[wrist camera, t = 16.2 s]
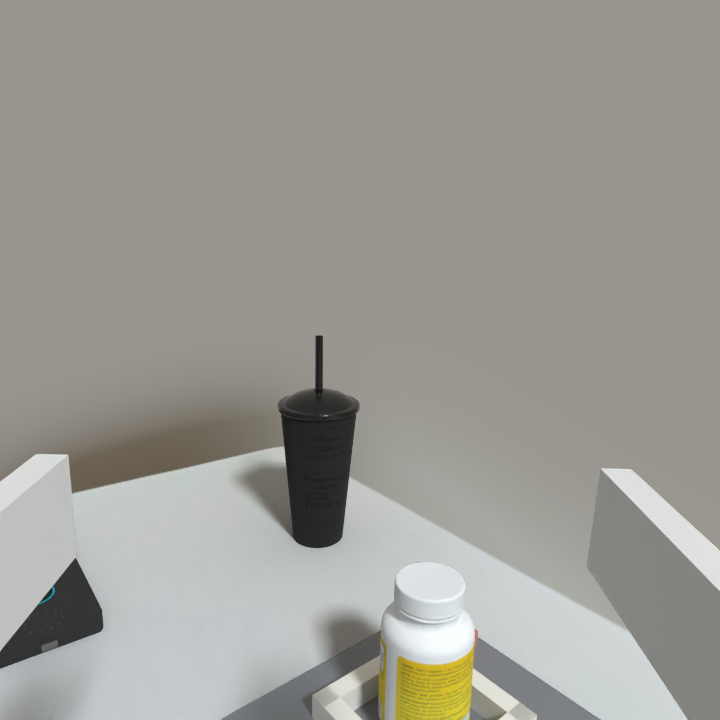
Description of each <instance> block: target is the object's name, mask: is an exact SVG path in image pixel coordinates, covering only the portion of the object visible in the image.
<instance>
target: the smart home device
mask: <svg viewBox="0 0 720 720" xmlns="http://www.w3.org/2000/svg"><path fill="white" fill-rule="evenodd" d="M102 629H103V617H102V609H101V607H100V605H99V603H98V601H97V599H96V597H95V595H94V593H93V591H92V589H91V587H90V585H89V583H88V581H87V579H86V577H85V575H84V573H83V571H82V569H81V567H80V566H79V564H78V562H77V560H76V558H75V559H74V560H73V561H72V563H71V564H70V565H69V566H68V568H67V569H66V570H65V571H64V573H63V574H62V575H61V576H60V578H59V579H58V580H57V581H56V583H55V584H54V585H53V586H52V587H51V589H50V590H49V591H48V592H47V594H46V595H45V596H44V597H43V599H42V600H41V601H40V602H39V604H38V605H37V606H36V607H35V609H34V610H33V611H32V612H31V614H30V615H29V616H28V617H27V619H26V620H25V621H24V622H23V624H22V625H21V626H20V627H19V628H18V630H17V631H16V632H15V633H14V635H13V636H12V637H11V638H10V640H9V641H8V642H7V643H6V645H5V646H4V647H3V648H2V650H1V651H0V668H3V667H6V666H8V665H11V664H14V663H17V662H19V661H22V660H25V659H27V658H30V657H33V656H36V655H38V654H41V653H44V652H47V651H49V650H52V649H55V648H57V647H60V646H63V645H66V644H68V643H71V642H74V641H76V640H79V639H82V638H85V637H87V636H90V635H93V634H96V633H98V632H100V631H102Z"/></svg>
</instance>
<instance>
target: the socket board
mask: <svg viewBox="0 0 720 720" xmlns="http://www.w3.org/2000/svg"><path fill="white" fill-rule="evenodd" d="M380 639H381V631H380V632H378V633H376V634H374V635H372V636H371V637H369V638H367V639H365V640H363V641H362V642H360V643H358V644H356V645H354V646H353V647H351V648H349V649H347V650H345V651H344V652H342V653H340V654H338V655H336V656H335V657H333V658H331V659H329V660H327V661H326V662H324V663H322V664H320V665H318V666H317V667H315V668H313V669H311V670H309V671H308V672H306V673H304V674H302V675H300V676H299V677H297V678H295V679H293V680H291V681H290V682H288V683H286V684H284V685H282V686H281V687H279V688H277V689H275V690H273V691H272V692H270V693H268V694H266V695H264V696H263V697H261V698H259V699H257V700H255V701H254V702H252V703H250V704H248V705H246V706H245V707H243V708H241V709H239V710H237V711H236V712H234V713H232V714H230V715H228V716H227V717H225V718H223V719H222V720H378V697H379V669H380ZM470 720H600V719H599V718H597V717H596V716H594V715H593V714H591V713H590V712H588V711H587V710H585V709H584V708H582V707H581V706H579V705H578V704H576V703H575V702H573V701H572V700H570V699H569V698H568V697H566V696H565V695H563V694H562V693H560V692H559V691H557V690H556V689H554V688H553V687H551V686H550V685H548V684H547V683H545V682H544V681H542V680H541V679H539V678H538V677H536V676H535V675H533V674H532V673H530V672H529V671H527V670H526V669H524V668H523V667H522V666H520V665H519V664H517V663H516V662H514V661H513V660H511V659H510V658H508V657H507V656H505V655H504V654H502V653H501V652H499V651H498V650H496V649H495V648H493V647H492V646H490V645H489V644H487V643H486V642H484V641H483V640H481V639H480V638H478V631H477V630H475V647H474V660H473V676H472V691H471V706H470Z"/></svg>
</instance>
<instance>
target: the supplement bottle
mask: <svg viewBox="0 0 720 720" xmlns="http://www.w3.org/2000/svg"><path fill="white" fill-rule="evenodd" d="M465 590H466V585H465V581H464V579H463V577H462V576H461V575H460V574H459V573H458V572H457V571H455V570H454V569H452V568H450V567H448V566H445V565H442V564H438V563H432V562H419V563H413V564H410V565H407V566H405V567H403V568H402V569H401V570H400V571H399V572H398V573H397V575H396V577H395V589H394V602H392V603H391V604H390V605H389V606H388V607H387V609H386V610H385V612H384V614H383V617H382V622H381V639H380V669H379V697H378V720H470V706H471V691H472V676H473V660H474V647H475V629H474V625H473V622H472V619H471V617H470V616H469V614H468V613H467V611H466V610H465V609H464V605H465Z"/></svg>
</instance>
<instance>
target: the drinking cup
mask: <svg viewBox="0 0 720 720" xmlns="http://www.w3.org/2000/svg"><path fill="white" fill-rule="evenodd" d="M315 349H316V351H315V352H316V353H315V356H316V357H315V360H316V361H315V362H316V363H315V380H316V381H315V382H316V383H315V388H313V389H306V390H303V391H299V392H297V393H294V394H292V395H290V396H287V397H285V398H283V399H281V400H280V401H279V403H278V410H279V412H280V413H281V417H282V427H283V436H284V447H285V457H286V466H287V476H288V486H289V496H290V506H291V516H292V526H293V535H294V539H295V540H296V541H297V542H298V543H299V544H301V545H304V546H307V547H314V548H321V547H327V546H331V545H333V544H335V543H337V542H338V541H339V540H340V539H341V538H342V534H343V525H344V516H345V507H346V498H347V490H348V481H349V472H350V463H351V455H352V446H353V437H354V428H355V420H356V413H357V412H358V411H359V408H360V406H359V405H360V404H359V402H358V400H356V399H355V398H353V397H351V396H348V395H345V394H343V393H341V392H339V391H335V390H332V389H325V388H323V336H316V348H315Z"/></svg>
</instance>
